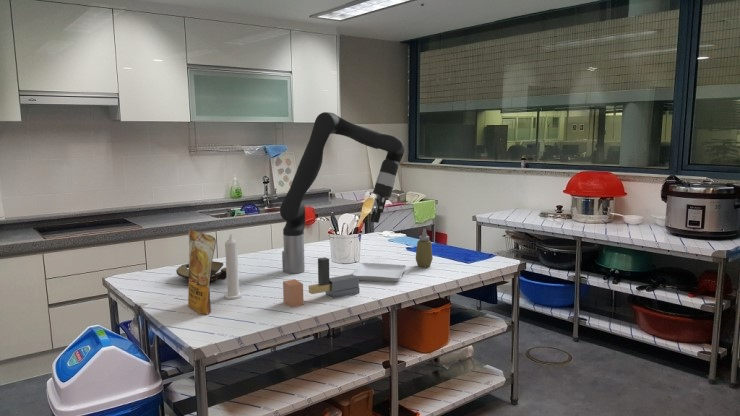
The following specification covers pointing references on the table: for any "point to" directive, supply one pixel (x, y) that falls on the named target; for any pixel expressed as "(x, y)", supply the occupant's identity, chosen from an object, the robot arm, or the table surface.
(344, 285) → the sleeve
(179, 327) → the table surface
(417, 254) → the squeeze bottle
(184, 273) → the oil lamp
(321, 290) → the bolt
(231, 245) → the candle
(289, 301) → the orange brown block
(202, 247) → the pancake mix bag
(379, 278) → the salad plate
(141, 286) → the table surface
